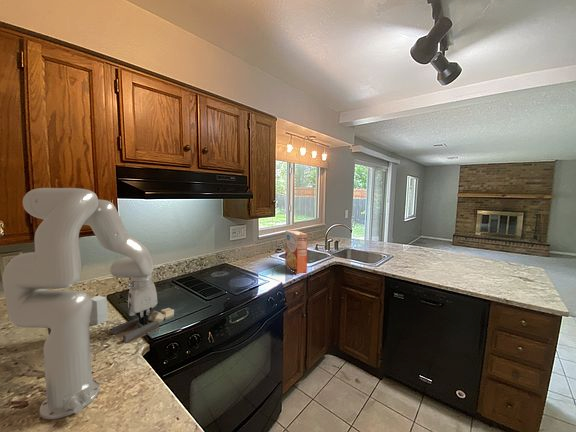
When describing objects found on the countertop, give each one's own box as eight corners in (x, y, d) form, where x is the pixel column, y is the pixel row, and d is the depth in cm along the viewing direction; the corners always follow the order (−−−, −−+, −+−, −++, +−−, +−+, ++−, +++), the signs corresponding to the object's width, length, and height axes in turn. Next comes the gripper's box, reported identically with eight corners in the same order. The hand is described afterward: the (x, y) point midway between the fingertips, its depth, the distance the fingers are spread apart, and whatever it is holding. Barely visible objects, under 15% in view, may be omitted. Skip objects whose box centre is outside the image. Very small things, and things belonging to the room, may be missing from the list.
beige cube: (173, 318, 114) (174, 310, 114) (165, 321, 110) (166, 312, 111) (168, 316, 116) (169, 307, 116) (160, 318, 113) (161, 310, 113)
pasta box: (285, 266, 200) (285, 230, 197) (294, 265, 203) (294, 229, 200) (296, 275, 179) (297, 234, 176) (306, 274, 182) (307, 234, 179)
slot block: (160, 331, 104) (160, 322, 104) (127, 347, 93) (126, 337, 93) (143, 322, 111) (143, 314, 110) (111, 336, 100) (110, 327, 99)
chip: (160, 324, 109) (165, 315, 111) (153, 322, 106) (158, 312, 108) (155, 321, 111) (160, 312, 113) (148, 319, 108) (153, 310, 110)
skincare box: (108, 323, 110) (107, 297, 109) (97, 327, 106) (96, 301, 105) (100, 320, 112) (99, 295, 111) (89, 324, 109) (88, 298, 108)
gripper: (127, 290, 94) (129, 335, 96) (163, 279, 107) (165, 319, 109) (117, 286, 98) (120, 329, 100) (154, 275, 111) (155, 314, 113)
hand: (143, 324), depth 104 cm, fingers closed
